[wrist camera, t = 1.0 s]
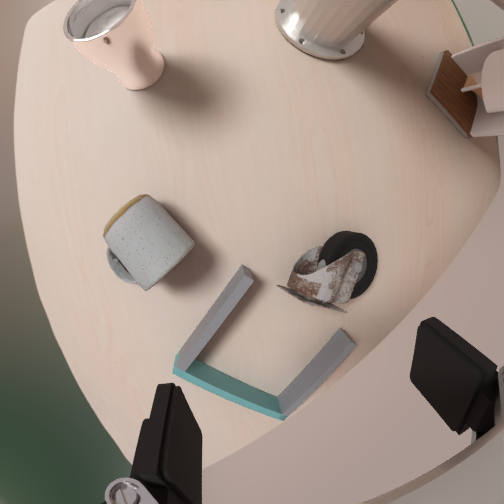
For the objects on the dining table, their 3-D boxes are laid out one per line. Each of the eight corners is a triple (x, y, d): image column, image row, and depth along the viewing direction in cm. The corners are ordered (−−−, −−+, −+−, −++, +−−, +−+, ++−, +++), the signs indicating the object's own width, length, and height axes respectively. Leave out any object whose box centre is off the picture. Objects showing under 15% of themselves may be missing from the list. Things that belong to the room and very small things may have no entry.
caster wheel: (362, 240, 38) (339, 306, 39) (301, 211, 34) (273, 289, 34) (397, 247, 32) (370, 322, 32) (334, 214, 28) (301, 307, 28)
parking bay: (242, 264, 34) (245, 275, 30) (345, 331, 38) (356, 345, 35) (176, 356, 36) (172, 373, 33) (278, 404, 41) (282, 420, 37)
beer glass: (158, 38, 26) (129, -30, 12) (175, 78, 28) (148, 14, 13) (109, 62, 26) (57, 9, 12) (124, 103, 28) (66, 59, 13)
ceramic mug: (153, 187, 31) (133, 190, 24) (199, 237, 33) (192, 254, 26) (98, 247, 32) (70, 264, 25) (141, 293, 34) (123, 320, 27)
